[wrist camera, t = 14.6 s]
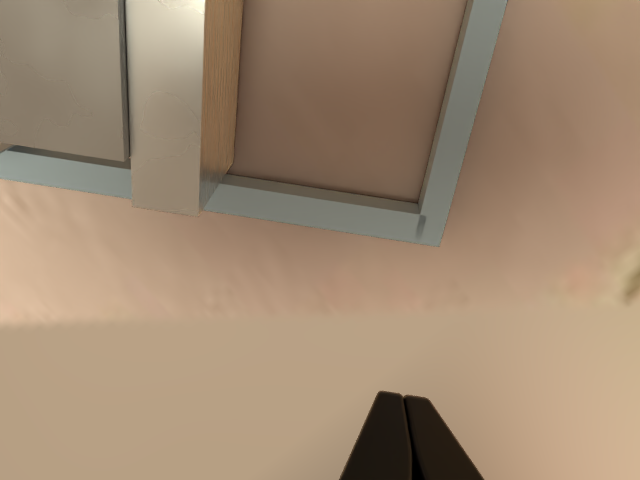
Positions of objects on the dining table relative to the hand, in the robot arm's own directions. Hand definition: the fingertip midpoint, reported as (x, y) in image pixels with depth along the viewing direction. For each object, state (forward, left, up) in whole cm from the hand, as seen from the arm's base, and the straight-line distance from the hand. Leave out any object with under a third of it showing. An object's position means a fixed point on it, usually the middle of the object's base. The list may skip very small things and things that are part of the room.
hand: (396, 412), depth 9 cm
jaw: (+6, -3, -12) cm, 14 cm away
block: (+10, -3, -13) cm, 16 cm away
